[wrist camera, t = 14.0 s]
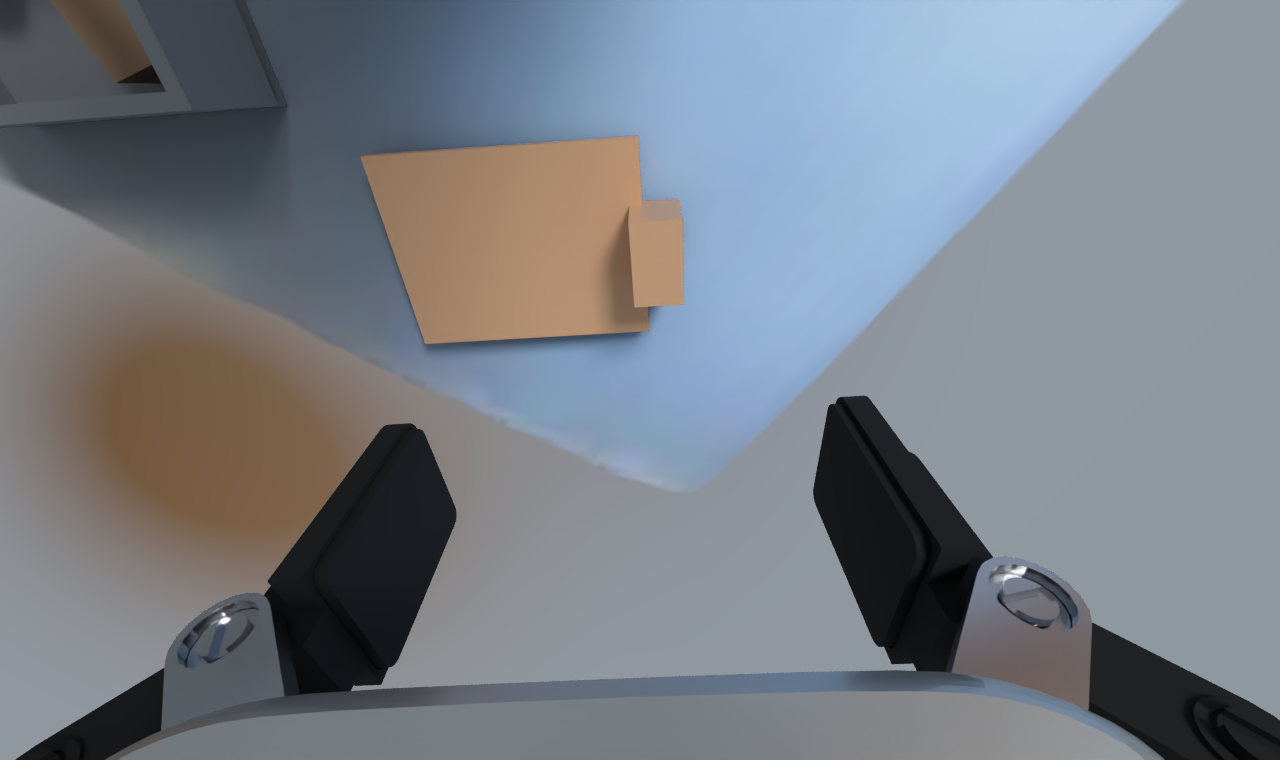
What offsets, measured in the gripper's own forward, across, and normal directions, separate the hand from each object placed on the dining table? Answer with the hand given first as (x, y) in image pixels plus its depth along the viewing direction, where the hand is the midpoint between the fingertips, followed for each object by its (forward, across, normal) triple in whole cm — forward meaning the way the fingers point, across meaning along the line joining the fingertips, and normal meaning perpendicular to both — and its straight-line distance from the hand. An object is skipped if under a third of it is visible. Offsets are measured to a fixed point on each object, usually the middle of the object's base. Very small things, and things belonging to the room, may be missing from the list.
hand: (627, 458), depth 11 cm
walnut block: (+24, +25, -12) cm, 37 cm away
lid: (+25, +7, +1) cm, 26 cm away
